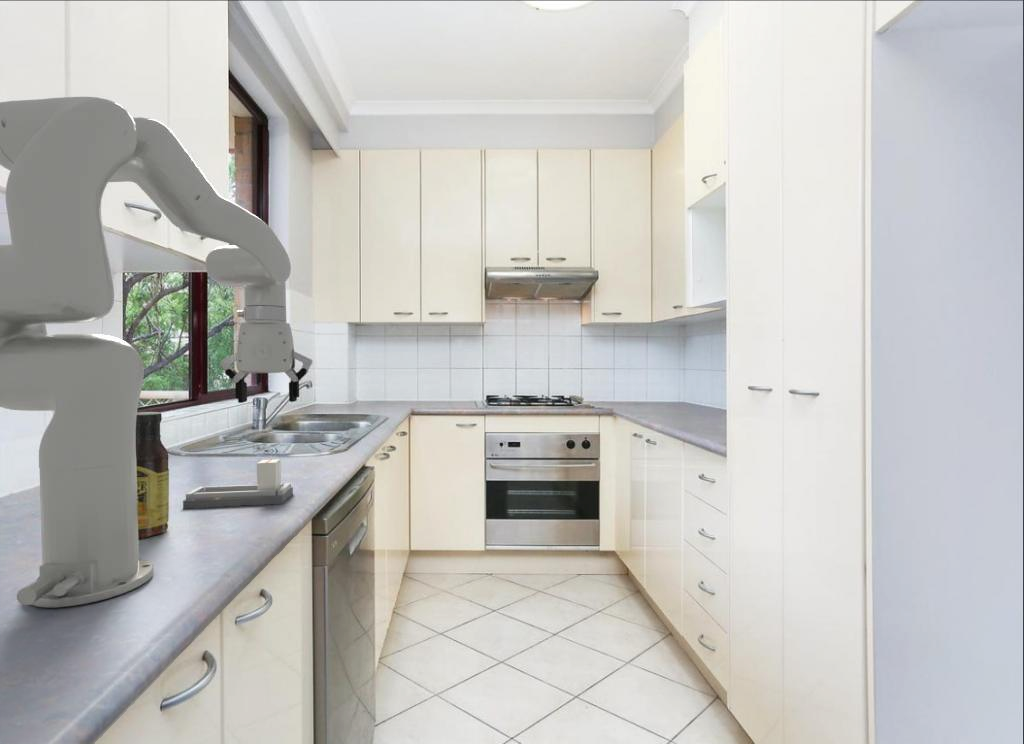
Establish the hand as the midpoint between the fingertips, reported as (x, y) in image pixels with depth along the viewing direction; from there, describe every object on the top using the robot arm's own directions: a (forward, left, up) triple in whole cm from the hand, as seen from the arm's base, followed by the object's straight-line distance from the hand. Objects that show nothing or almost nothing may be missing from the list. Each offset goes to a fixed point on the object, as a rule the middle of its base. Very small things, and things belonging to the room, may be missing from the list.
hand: (268, 401), depth 108 cm
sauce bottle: (-19, +14, -20) cm, 31 cm away
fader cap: (0, 0, -18) cm, 18 cm away
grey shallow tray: (0, +6, -20) cm, 21 cm away
